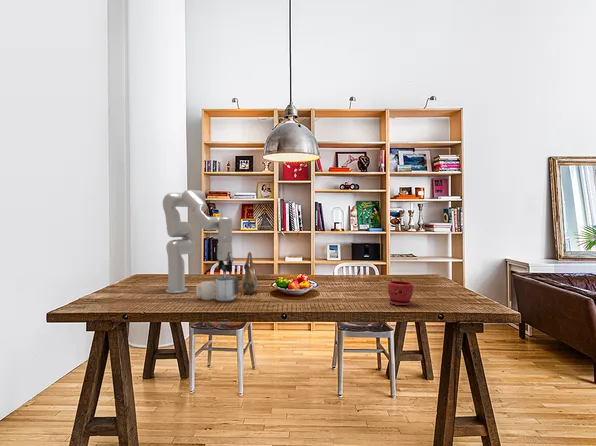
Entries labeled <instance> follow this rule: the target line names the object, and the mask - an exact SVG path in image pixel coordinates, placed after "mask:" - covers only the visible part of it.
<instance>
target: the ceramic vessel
mask: <svg viewBox="0 0 596 446" xmlns="http://www.w3.org/2000/svg"><path fill="white" fill-rule="evenodd" d="M255 267H256V264H255V263H254V262H253V256H252V252H251V251H249V252H248V253H247V257H246V261H245V263H244V266H243V269H244V271H245V272H244V274H243V276H242V279H241V287H242V290H243V292H244V293H245V294H247V295H252V294H254V293H255V291H256V290H257V287H258V278H257V276H256V274H255Z"/></svg>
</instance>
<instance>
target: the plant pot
mask: <svg viewBox="0 0 596 446" xmlns="http://www.w3.org/2000/svg"><path fill="white" fill-rule="evenodd" d="M387 291H388V292H387V293H388V297H389V299H388V302H389V304H390V303H391V305H392V304H395V305H407V306H409V304H410V305H411V303H412V301H411V299H412V296H413V293H414V292H413V291H414V283H413V282H411V281H403V280H390V281H389V280H388V283H387ZM395 305H394V306H395Z"/></svg>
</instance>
